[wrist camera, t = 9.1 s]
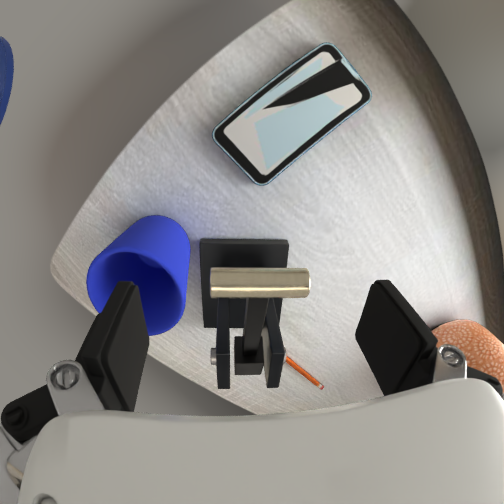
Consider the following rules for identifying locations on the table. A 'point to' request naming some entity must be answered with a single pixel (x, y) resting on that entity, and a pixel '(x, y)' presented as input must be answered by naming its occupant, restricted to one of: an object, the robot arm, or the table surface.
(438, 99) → the table surface
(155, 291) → the mug
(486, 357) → the planter
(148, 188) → the table surface
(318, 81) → the smartphone
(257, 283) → the lever
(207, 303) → the bracket
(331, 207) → the table surface
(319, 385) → the pencil
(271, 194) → the table surface
